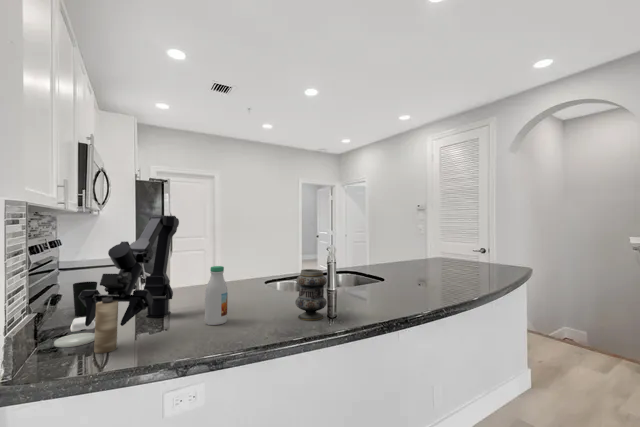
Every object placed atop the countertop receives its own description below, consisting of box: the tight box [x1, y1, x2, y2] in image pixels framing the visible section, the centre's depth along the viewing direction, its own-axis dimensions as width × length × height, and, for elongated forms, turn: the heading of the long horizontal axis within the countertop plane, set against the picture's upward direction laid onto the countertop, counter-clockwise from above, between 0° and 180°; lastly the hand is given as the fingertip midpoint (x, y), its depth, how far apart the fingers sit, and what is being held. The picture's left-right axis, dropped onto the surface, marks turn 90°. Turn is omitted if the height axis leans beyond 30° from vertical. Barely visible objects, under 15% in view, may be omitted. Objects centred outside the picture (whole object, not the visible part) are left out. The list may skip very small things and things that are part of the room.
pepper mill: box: [93, 297, 119, 354], centre depth 88 cm, size 5×5×14 cm
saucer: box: [53, 332, 95, 349], centre depth 94 cm, size 10×10×1 cm
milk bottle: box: [204, 265, 229, 326], centre depth 114 cm, size 8×8×20 cm
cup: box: [72, 281, 98, 317], centre depth 122 cm, size 8×8×12 cm
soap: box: [70, 316, 95, 333], centre depth 107 cm, size 9×7×3 cm
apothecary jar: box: [295, 268, 328, 322], centre depth 121 cm, size 12×12×18 cm
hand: (104, 325), depth 87 cm, fingers open, 9 cm apart
